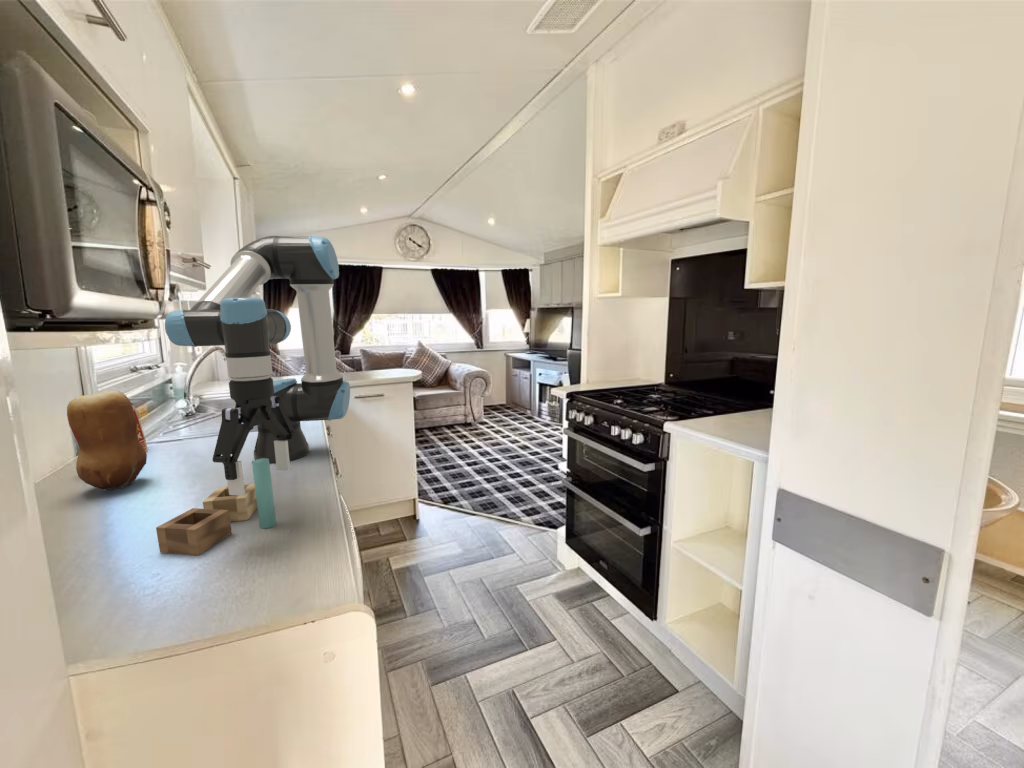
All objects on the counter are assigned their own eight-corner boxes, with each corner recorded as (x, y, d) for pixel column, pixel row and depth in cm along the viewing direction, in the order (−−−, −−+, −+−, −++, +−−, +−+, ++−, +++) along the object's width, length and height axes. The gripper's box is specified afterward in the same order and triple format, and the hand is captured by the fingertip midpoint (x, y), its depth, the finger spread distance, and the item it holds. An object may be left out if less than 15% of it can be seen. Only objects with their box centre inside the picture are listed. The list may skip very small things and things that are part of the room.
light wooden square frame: (221, 507, 100) (219, 486, 99) (260, 504, 101) (257, 483, 101) (205, 524, 92) (202, 501, 91) (247, 519, 94) (245, 497, 93)
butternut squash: (81, 488, 112) (62, 392, 108) (148, 473, 121) (134, 384, 117) (81, 504, 102) (61, 399, 98) (154, 487, 112) (139, 391, 107)
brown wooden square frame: (196, 531, 89) (192, 508, 88) (231, 533, 88) (228, 510, 87) (160, 552, 81) (155, 527, 80) (198, 555, 80) (194, 529, 79)
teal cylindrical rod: (266, 521, 93) (258, 458, 91) (279, 521, 93) (272, 458, 90) (256, 528, 90) (248, 463, 88) (269, 528, 90) (262, 463, 87)
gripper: (275, 370, 99) (284, 460, 102) (178, 388, 74) (194, 506, 78) (306, 370, 98) (314, 461, 101) (218, 388, 73) (232, 508, 77)
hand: (262, 481), depth 89 cm, fingers open, 13 cm apart
